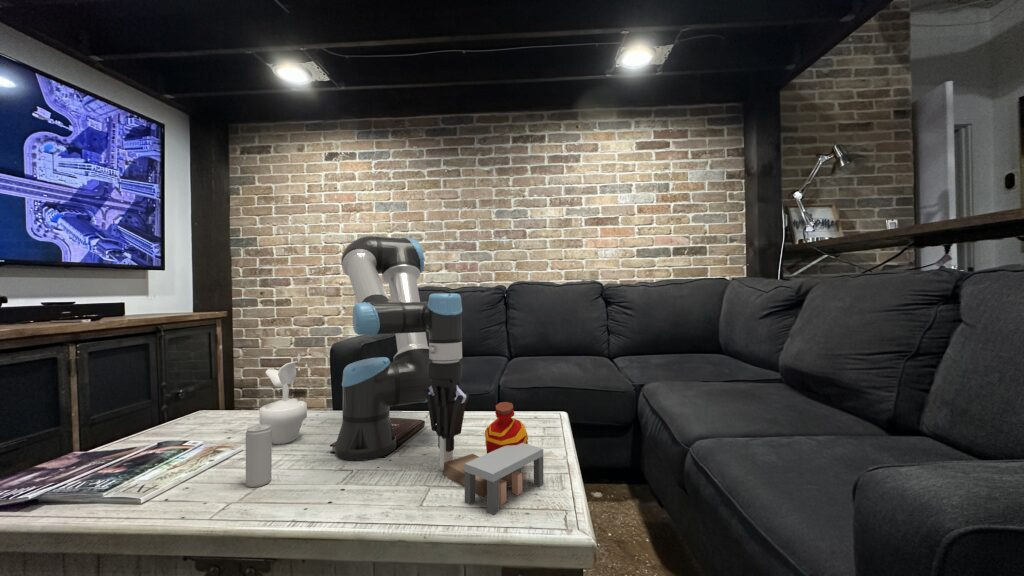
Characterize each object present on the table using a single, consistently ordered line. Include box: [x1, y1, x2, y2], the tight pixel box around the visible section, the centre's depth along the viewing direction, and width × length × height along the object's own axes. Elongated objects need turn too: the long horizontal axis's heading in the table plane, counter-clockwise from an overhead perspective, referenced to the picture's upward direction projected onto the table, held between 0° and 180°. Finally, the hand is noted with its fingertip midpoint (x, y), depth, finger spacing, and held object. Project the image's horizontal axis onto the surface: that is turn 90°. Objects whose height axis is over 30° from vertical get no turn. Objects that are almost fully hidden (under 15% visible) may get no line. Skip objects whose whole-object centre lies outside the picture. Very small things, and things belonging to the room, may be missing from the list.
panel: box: [443, 453, 512, 499], centre depth 91 cm, size 14×8×3 cm, turn 43°
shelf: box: [464, 443, 545, 516], centre depth 85 cm, size 8×16×8 cm, turn 140°
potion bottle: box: [484, 401, 529, 454], centre depth 95 cm, size 10×10×15 cm
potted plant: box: [258, 352, 309, 445], centre depth 116 cm, size 13×12×25 cm
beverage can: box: [245, 423, 273, 488], centre depth 90 cm, size 5×5×12 cm
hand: (446, 464), depth 95 cm, fingers closed
